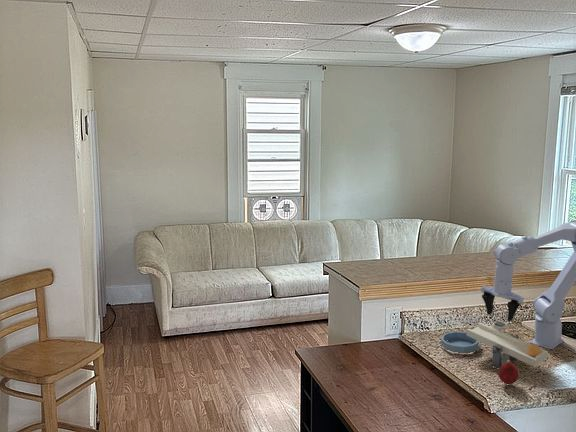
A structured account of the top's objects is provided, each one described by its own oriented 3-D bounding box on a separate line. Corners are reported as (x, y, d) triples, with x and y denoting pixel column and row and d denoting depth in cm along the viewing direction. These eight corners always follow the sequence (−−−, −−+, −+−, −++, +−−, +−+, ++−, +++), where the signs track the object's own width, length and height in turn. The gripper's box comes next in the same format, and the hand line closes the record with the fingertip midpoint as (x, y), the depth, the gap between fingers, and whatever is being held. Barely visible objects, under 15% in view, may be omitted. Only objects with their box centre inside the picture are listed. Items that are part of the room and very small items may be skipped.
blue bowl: (454, 336, 208) (454, 328, 208) (485, 346, 199) (485, 338, 198) (434, 347, 201) (434, 339, 200) (465, 358, 191) (465, 349, 191)
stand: (510, 352, 193) (511, 332, 192) (522, 356, 190) (522, 336, 189) (488, 367, 184) (488, 346, 183) (499, 371, 181) (500, 350, 180)
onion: (520, 390, 170) (520, 365, 168) (499, 389, 171) (500, 364, 169) (516, 380, 175) (517, 356, 173) (496, 379, 176) (497, 355, 175)
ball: (528, 348, 182) (533, 339, 180) (540, 356, 180) (545, 347, 178) (522, 353, 180) (527, 343, 178) (534, 361, 177) (539, 351, 175)
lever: (492, 320, 203) (493, 313, 202) (559, 348, 186) (561, 341, 185) (466, 335, 192) (467, 327, 191) (534, 366, 175) (536, 358, 174)
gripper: (477, 276, 197) (474, 313, 200) (517, 287, 186) (513, 326, 189) (488, 272, 201) (485, 308, 204) (528, 283, 191) (524, 321, 194)
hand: (499, 317), depth 197 cm, fingers open, 7 cm apart
